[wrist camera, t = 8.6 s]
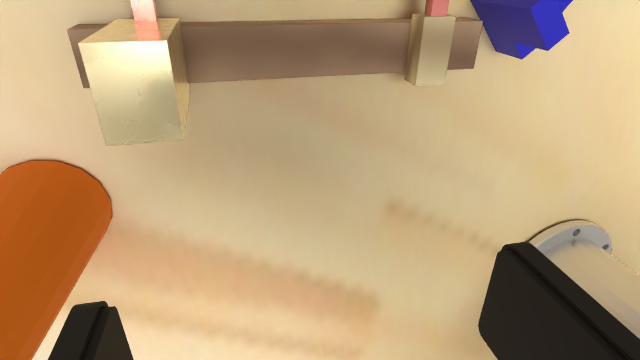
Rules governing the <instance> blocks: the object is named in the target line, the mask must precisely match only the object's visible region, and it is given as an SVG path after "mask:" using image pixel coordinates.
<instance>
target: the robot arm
mask: <svg viewBox="0 0 640 360" xmlns="http://www.w3.org/2000/svg"><path fill="white" fill-rule="evenodd" d="M478 327H479V332H480V334H481V336H482V338H483V339H484V341H485V342H486V344H487V345H488V346H489V348H490V349H491V351H492V352H493V354H494V355H495V356H496V358H497V359H498V360H640V275H638V274H637V273H636V272H634V271H633V270H632V269H630V268H629V267H627V266H626V265H625V264H623V263H622V262H621V261H619V260H618V259H616V258H615V257H614V256H612V255H611V240H610V238H609V235H608V234H607V233H606V232H605V230H603V229H602V228H600V227H599V226H597V225H596V224H594V223H592V222H589V221H583V220H576V221H568V222H565V223H561V224H558V225H556V226H553V227H551V228H549V229H547V230H545V231H544V232H542V233H540V234H538V235H537V236H536V237H534V238H533V239H532V240H530V241H529V242H520V243H513V244H507V245H504V246H503V247H502V250H501V251H499V252H498V254H497V257H496V260H495V264H494V268H493V271H492V275H491V279H490V282H489V286H488V290H487V293H486V297H485V301H484V304H483V308H482V312H481V316H480V319H479V324H478ZM48 360H133V357H132V354H131V350H130V347H129V344H128V341H127V338H126V335H125V332H124V329H123V326H122V323H121V320H120V317H119V314H118V310H117V308H116V307H115V306H113V307H108V305H107V303H106V302H105V301H100V302H93V303H85V304H78V305H75V306H73V307H72V309H71V311H70V313H69V315H68V317H67V319H66V321H65V324H64V326H63V328H62V330H61V332H60V335H59V337H58V339H57V341H56V343H55V345H54V348H53V350H52V352H51V354H50V356H49V358H48Z"/></svg>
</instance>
